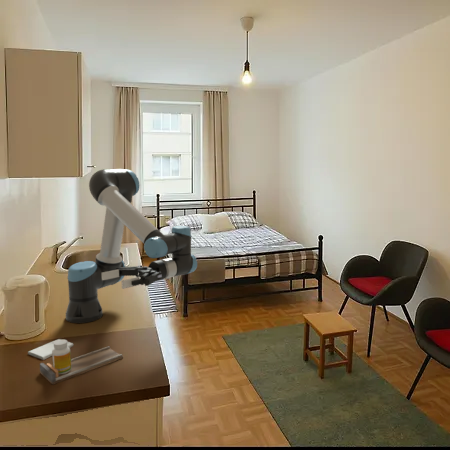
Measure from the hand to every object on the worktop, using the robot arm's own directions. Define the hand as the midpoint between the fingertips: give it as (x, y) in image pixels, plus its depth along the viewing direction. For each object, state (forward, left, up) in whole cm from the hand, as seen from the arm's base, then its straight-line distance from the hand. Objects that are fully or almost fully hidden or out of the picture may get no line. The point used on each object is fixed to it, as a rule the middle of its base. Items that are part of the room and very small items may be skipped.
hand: (111, 280), depth 140 cm
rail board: (+2, -13, -26) cm, 29 cm away
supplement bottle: (+2, -20, -26) cm, 32 cm away
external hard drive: (-16, -16, -27) cm, 35 cm away
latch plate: (+2, -23, -25) cm, 34 cm away
